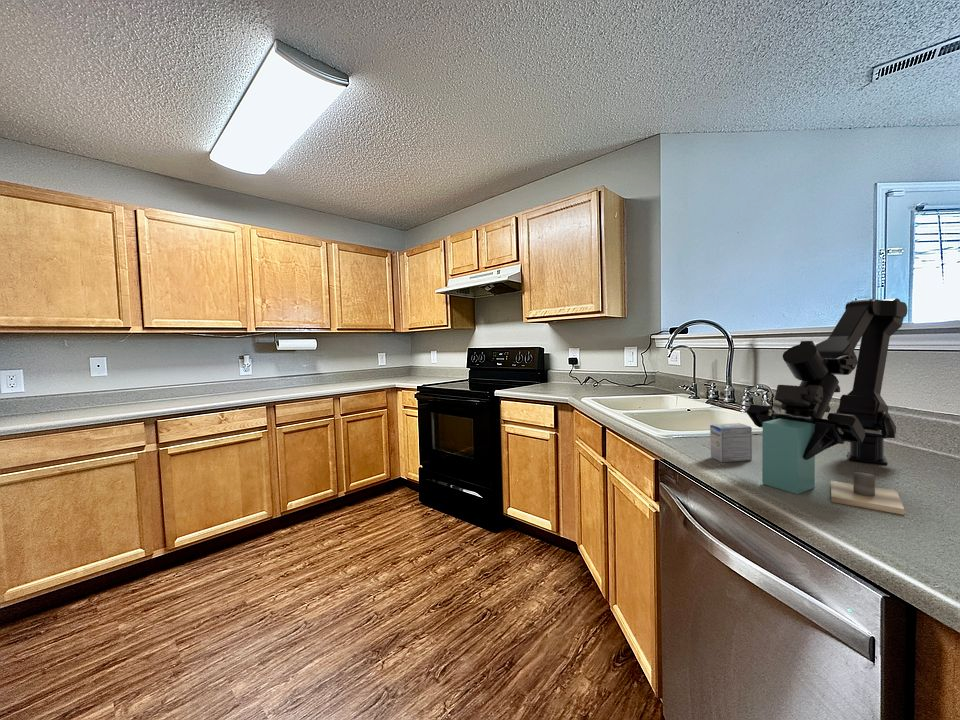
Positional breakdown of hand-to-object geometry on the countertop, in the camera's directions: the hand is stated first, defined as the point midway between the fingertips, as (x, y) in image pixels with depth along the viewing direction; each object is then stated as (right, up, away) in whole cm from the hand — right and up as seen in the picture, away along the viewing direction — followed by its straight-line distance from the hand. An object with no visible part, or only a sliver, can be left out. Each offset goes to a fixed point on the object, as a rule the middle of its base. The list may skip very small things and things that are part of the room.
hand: (784, 454), depth 77 cm
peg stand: (+9, -7, -7) cm, 13 cm away
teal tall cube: (+1, -7, +1) cm, 7 cm away
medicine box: (+2, -6, +19) cm, 20 cm away
